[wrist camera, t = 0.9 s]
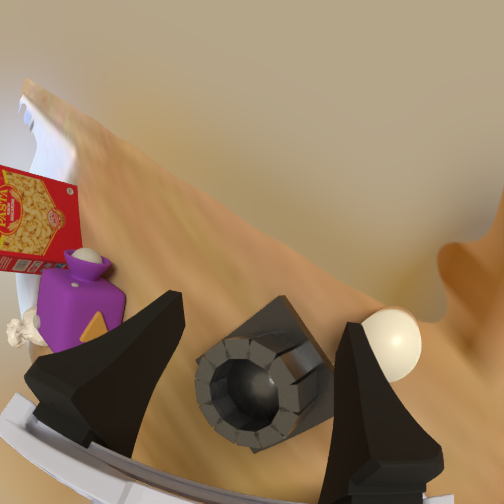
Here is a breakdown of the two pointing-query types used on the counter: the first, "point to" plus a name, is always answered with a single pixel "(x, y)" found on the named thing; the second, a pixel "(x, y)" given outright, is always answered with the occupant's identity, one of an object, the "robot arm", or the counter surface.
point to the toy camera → (77, 301)
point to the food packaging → (36, 222)
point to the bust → (24, 330)
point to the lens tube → (266, 380)
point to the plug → (394, 340)
